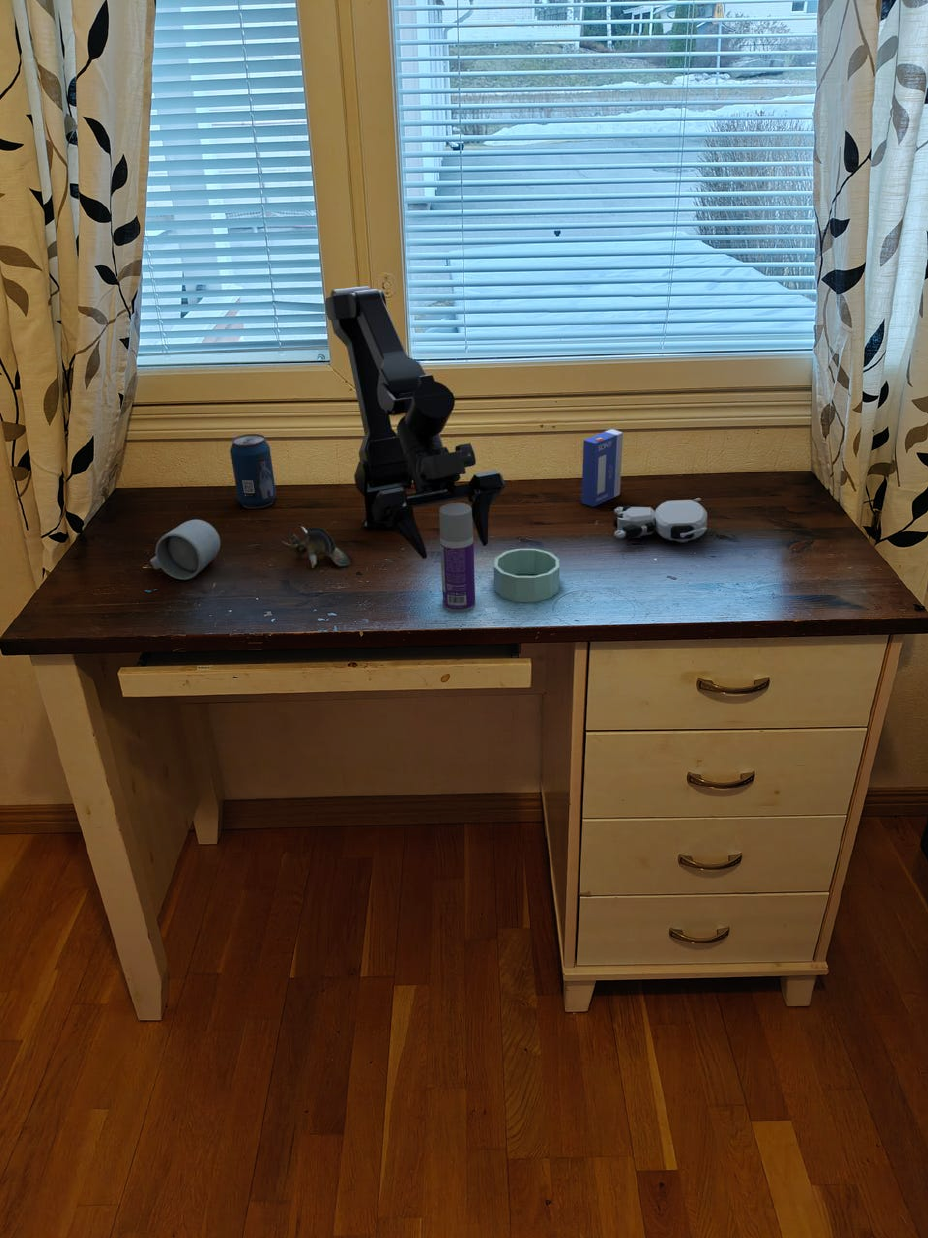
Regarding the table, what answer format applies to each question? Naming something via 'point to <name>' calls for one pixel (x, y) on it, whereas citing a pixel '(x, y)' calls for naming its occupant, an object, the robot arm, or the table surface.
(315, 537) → the grey-brown animal figure
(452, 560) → the container
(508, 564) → the pale green faceted ring
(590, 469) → the walkman
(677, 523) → the robot toy
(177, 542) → the ceramic mug
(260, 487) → the soda can
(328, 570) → the table surface
